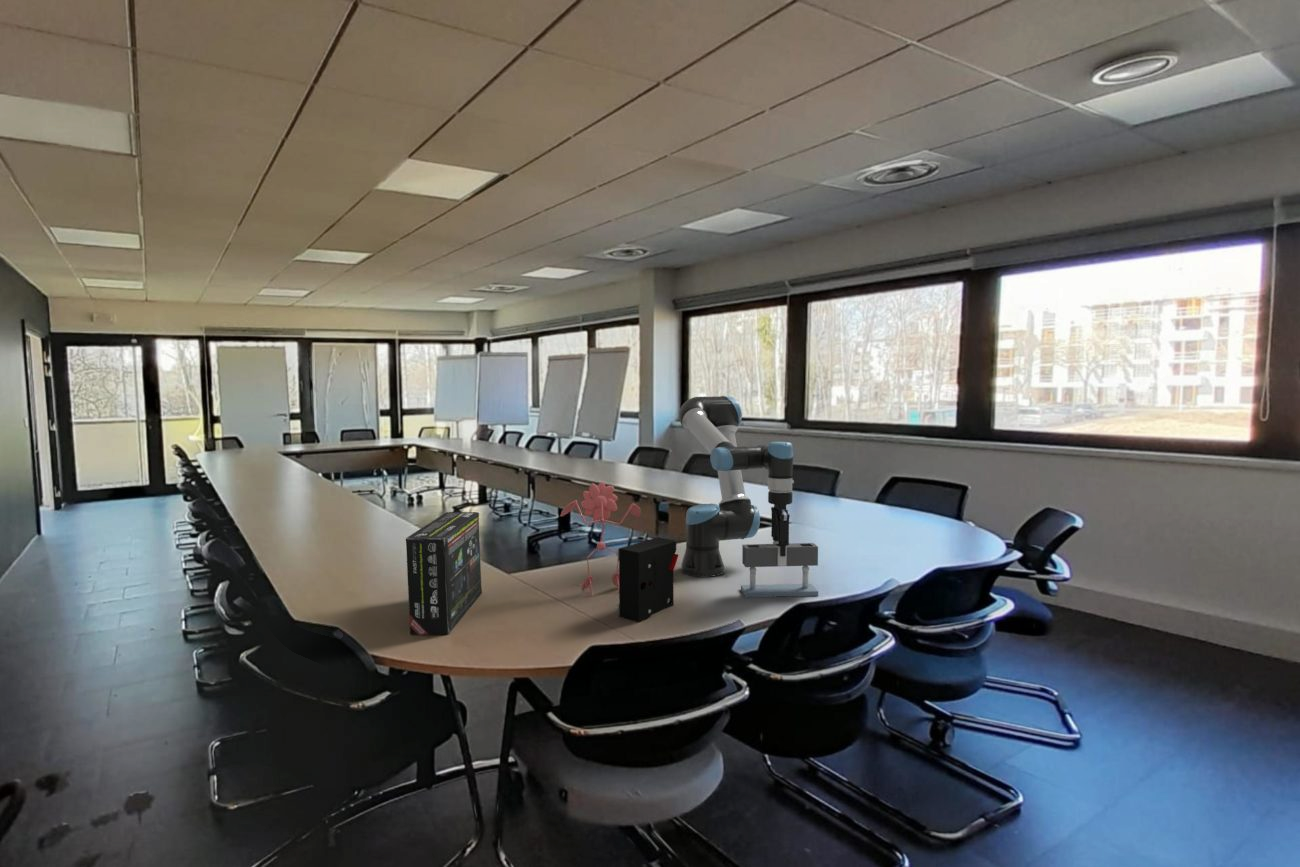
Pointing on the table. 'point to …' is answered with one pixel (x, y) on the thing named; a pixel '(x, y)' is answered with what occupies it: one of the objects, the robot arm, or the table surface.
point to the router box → (443, 572)
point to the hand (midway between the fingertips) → (779, 563)
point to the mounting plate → (779, 587)
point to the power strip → (768, 554)
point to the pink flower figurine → (600, 506)
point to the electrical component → (646, 578)
